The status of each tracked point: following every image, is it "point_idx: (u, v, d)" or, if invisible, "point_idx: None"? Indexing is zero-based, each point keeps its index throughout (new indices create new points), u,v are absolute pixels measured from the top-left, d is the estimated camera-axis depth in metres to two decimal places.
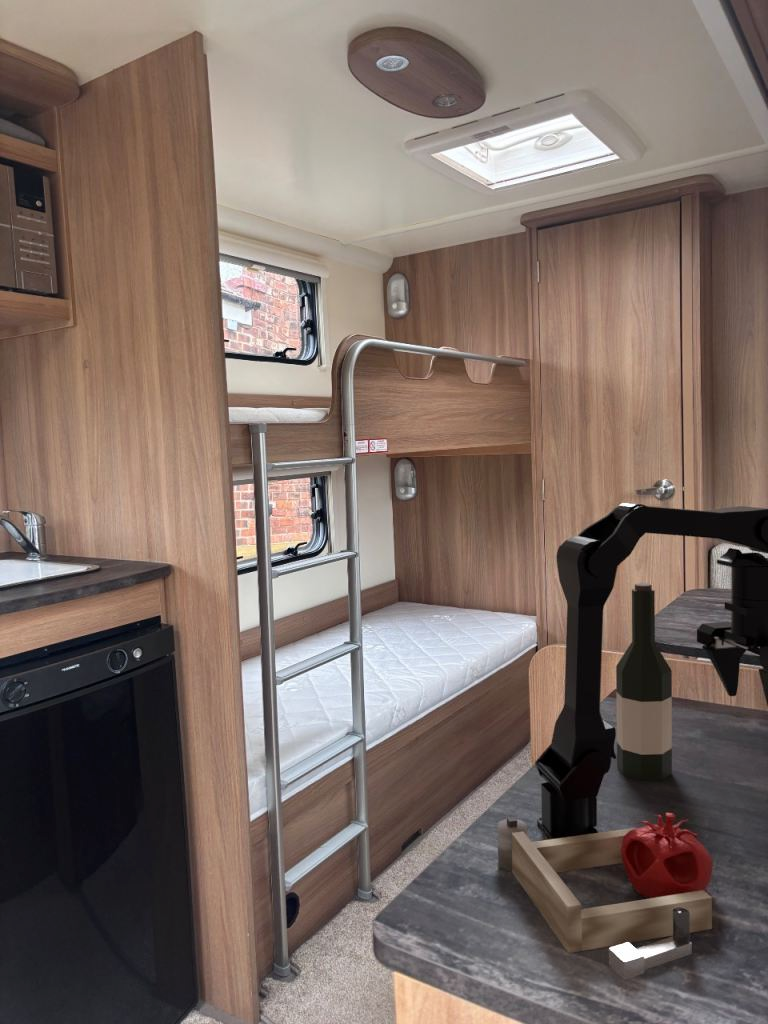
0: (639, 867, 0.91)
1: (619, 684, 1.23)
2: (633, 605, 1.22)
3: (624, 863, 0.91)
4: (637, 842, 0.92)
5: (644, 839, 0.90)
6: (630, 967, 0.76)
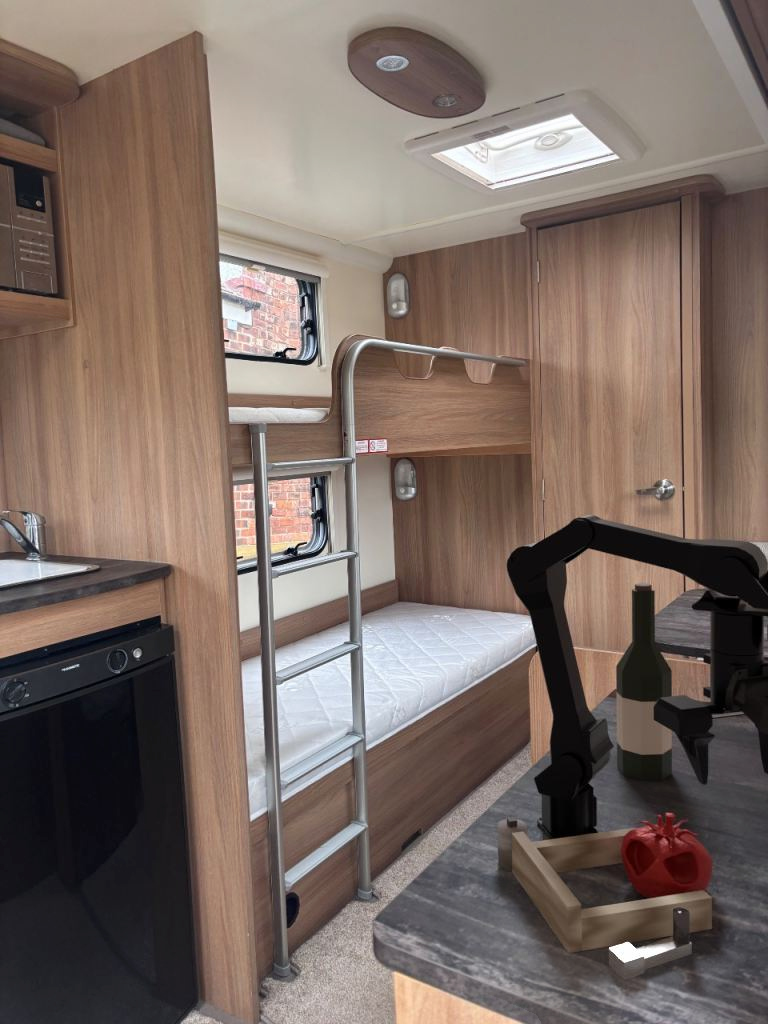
0: (639, 866, 0.91)
1: (619, 684, 1.23)
2: (633, 605, 1.22)
3: (624, 863, 0.91)
4: (637, 842, 0.92)
5: (644, 839, 0.90)
6: (630, 967, 0.76)
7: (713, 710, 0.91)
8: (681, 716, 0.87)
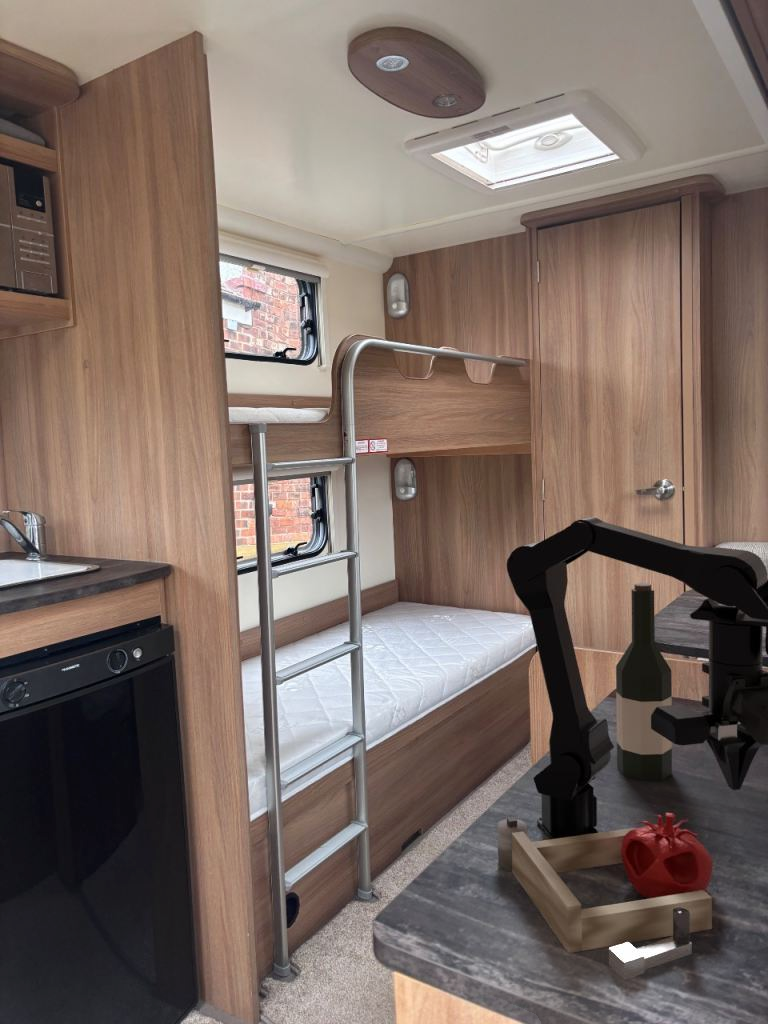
0: (639, 867, 0.91)
1: (619, 684, 1.23)
2: (633, 605, 1.22)
3: (624, 863, 0.91)
4: (637, 842, 0.92)
5: (644, 839, 0.90)
6: (630, 967, 0.76)
7: (711, 720, 0.90)
8: (677, 726, 0.87)
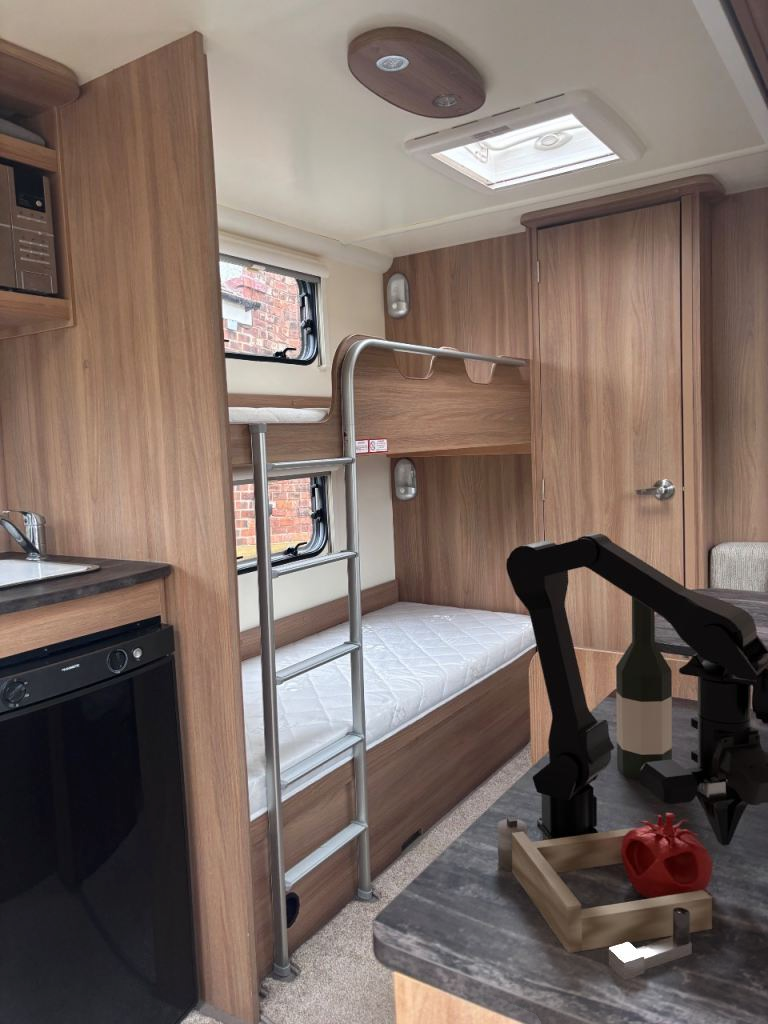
0: (639, 867, 0.91)
1: (619, 684, 1.23)
2: (633, 605, 1.22)
3: (624, 863, 0.91)
4: (637, 842, 0.92)
5: (644, 839, 0.90)
6: (630, 967, 0.76)
7: (700, 776, 0.91)
8: (666, 784, 0.87)
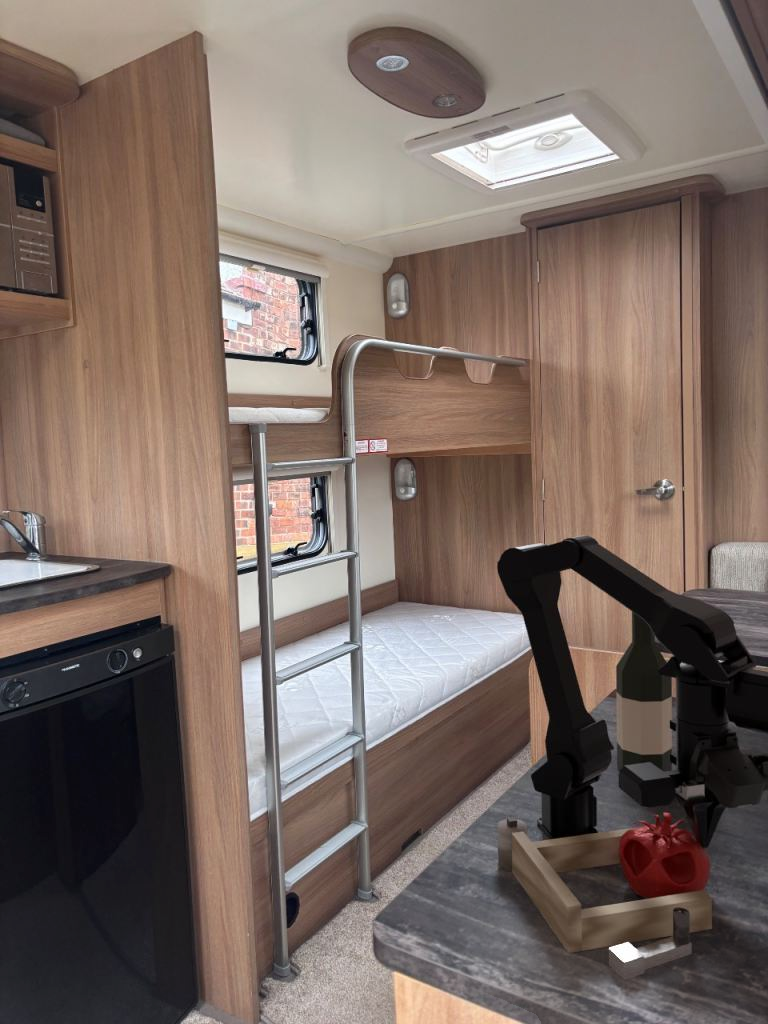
0: (637, 866, 0.91)
1: (619, 684, 1.23)
2: None
3: (622, 863, 0.91)
4: (635, 842, 0.92)
5: (642, 839, 0.90)
6: (630, 967, 0.76)
7: (678, 779, 0.90)
8: (643, 787, 0.87)
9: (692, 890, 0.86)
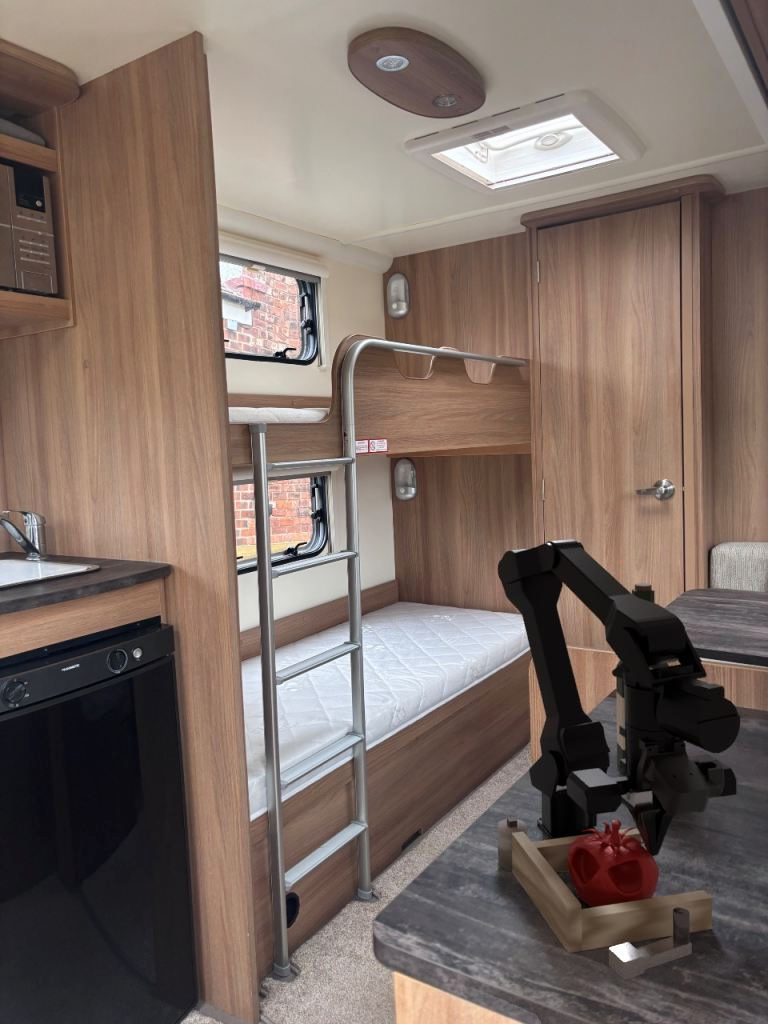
0: (585, 875, 0.90)
1: (619, 684, 1.23)
2: None
3: (570, 872, 0.90)
4: (584, 850, 0.91)
5: (590, 847, 0.88)
6: (630, 967, 0.76)
7: (626, 785, 0.89)
8: (588, 794, 0.85)
9: (639, 899, 0.85)
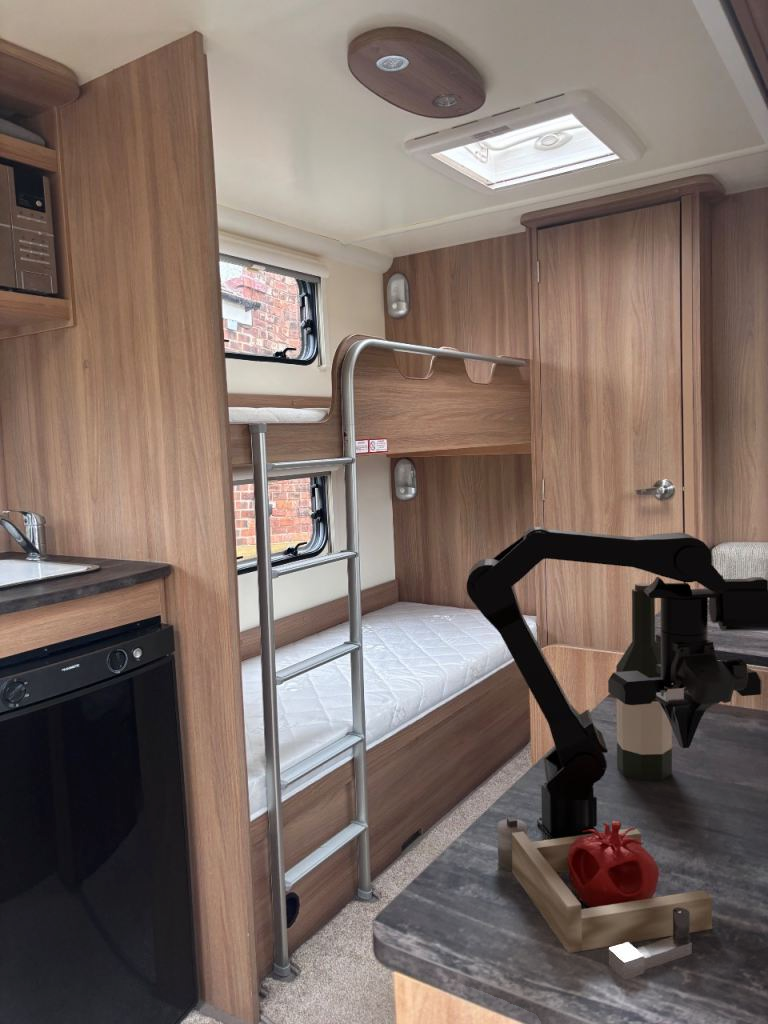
0: (585, 876, 0.90)
1: None
2: (633, 605, 1.22)
3: (570, 872, 0.90)
4: (584, 851, 0.91)
5: (590, 848, 0.88)
6: (630, 967, 0.76)
7: (661, 684, 1.01)
8: (627, 688, 0.98)
9: None
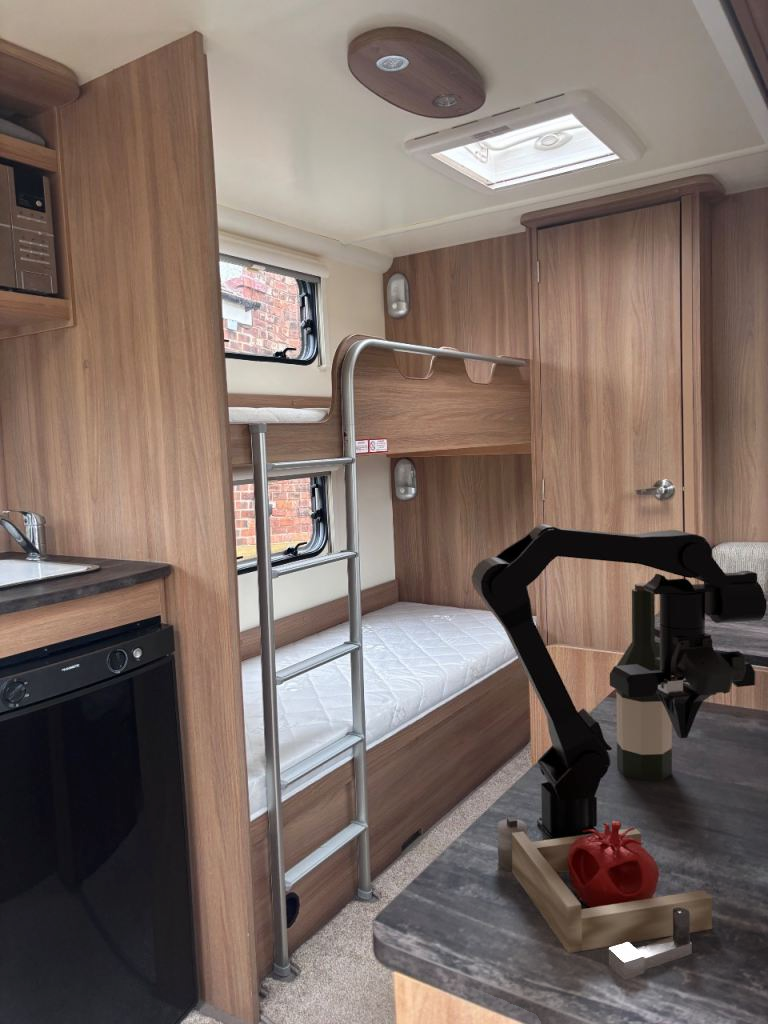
0: (585, 876, 0.90)
1: None
2: (633, 605, 1.22)
3: (570, 872, 0.90)
4: (584, 851, 0.91)
5: (590, 848, 0.88)
6: (630, 967, 0.76)
7: (661, 677, 1.04)
8: (630, 680, 1.01)
9: None
